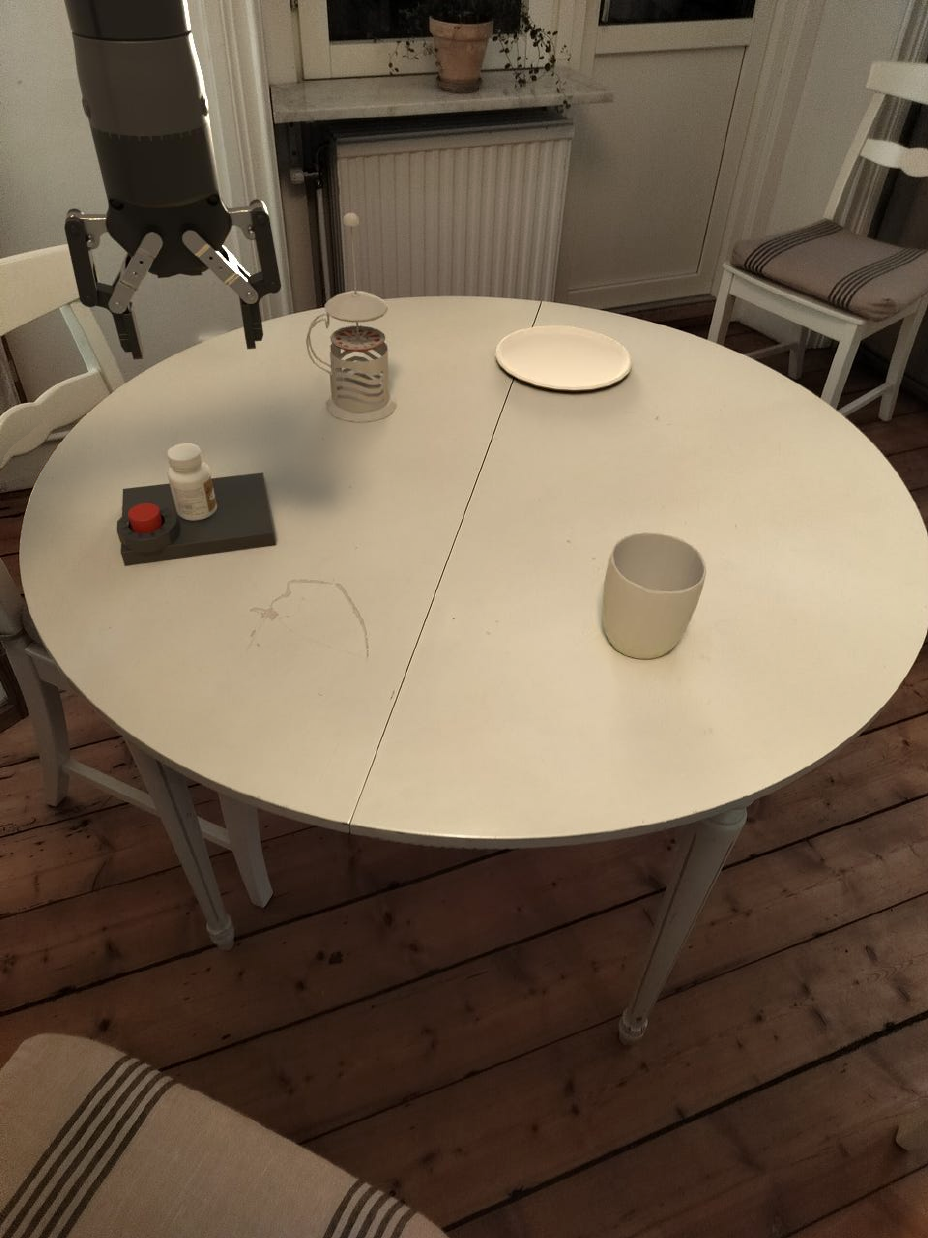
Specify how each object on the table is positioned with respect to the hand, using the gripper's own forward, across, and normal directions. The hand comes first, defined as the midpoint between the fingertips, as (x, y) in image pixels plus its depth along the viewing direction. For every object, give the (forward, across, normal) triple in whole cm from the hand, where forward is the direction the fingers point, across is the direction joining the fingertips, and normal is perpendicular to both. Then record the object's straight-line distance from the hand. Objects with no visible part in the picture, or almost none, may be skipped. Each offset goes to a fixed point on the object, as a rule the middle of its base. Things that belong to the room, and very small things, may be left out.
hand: (195, 349), depth 65 cm
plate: (+28, -51, -45) cm, 74 cm away
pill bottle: (+26, +4, -16) cm, 31 cm away
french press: (+28, -18, -39) cm, 51 cm away
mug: (+28, -38, +11) cm, 49 cm away
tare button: (+25, +9, -13) cm, 29 cm away
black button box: (+28, +4, -16) cm, 33 cm away
